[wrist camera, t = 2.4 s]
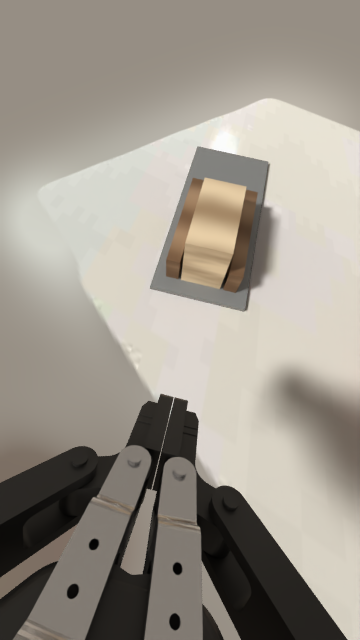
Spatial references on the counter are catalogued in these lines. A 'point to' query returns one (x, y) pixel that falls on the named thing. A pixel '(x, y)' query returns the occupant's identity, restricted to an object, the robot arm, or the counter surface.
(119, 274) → the counter surface
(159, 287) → the chute board
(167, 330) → the counter surface
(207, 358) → the counter surface
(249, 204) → the chute rails
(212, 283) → the oak block
